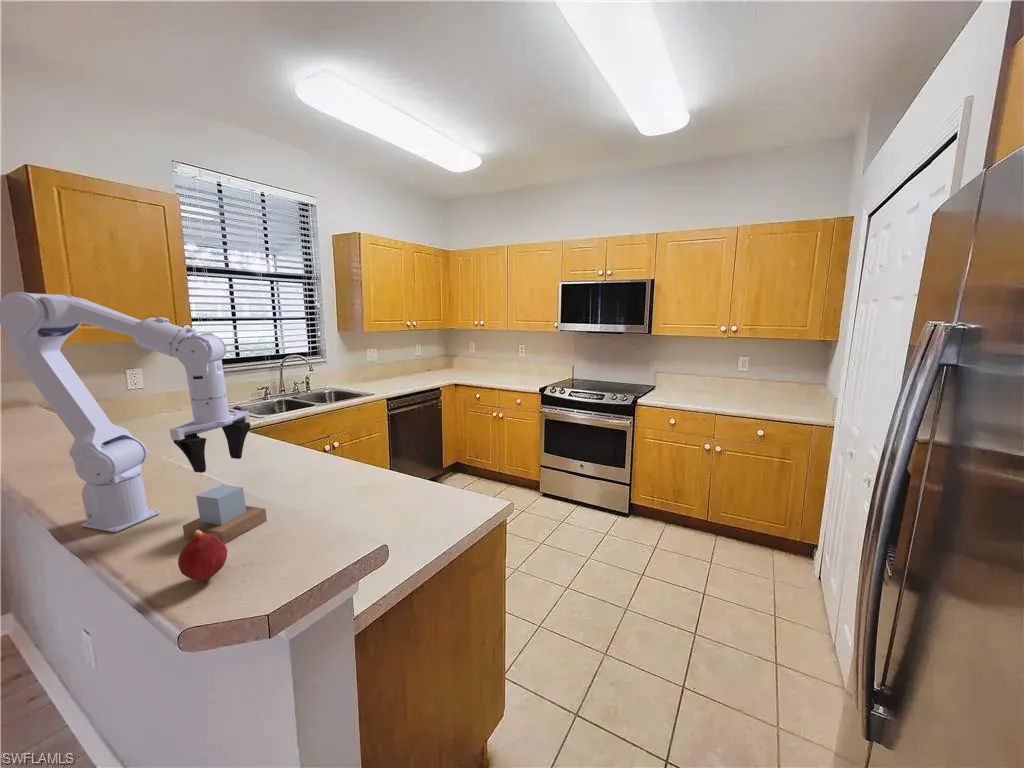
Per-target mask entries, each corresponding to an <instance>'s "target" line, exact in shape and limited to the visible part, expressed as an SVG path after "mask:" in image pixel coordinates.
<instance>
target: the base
mask: <svg viewBox="0 0 1024 768" xmlns="http://www.w3.org/2000/svg"><path fill="white" fill-rule="evenodd" d="M265 522H268V519H267V511H266V508H263V507H258V506H257V507H255V506H249V505H246V513H244V514H242V515H240V516H238V517H236V518H234V519H233V520H231V521H229V522H227V523H225V524H223V525H217V524H211V523H204V522H200V517H198V518H195V519H194V520H192V521H190V522H188V523H185V524H184V525H182V530H183V536H184V539H185V540H189V541H190V540H191V539H193V538H194V534H195V530H200V531H202V532H203V533H205V534H210V535H214V536H216V537H217V538H219V539H220V540H221V541H222V542H223V543H224V544H226V543H227V544H229V543H231V542H232V540H233V539H234V540H236V539H238V538H239V537H238V536H240V535H241V536H243V535H245V534H247V533H248V532H251V531H252V530H254V529H256V528H257V527H258V526H260V525H262V524H264V523H265ZM246 532H247V533H246ZM244 533H245V534H244ZM242 534H243V535H242ZM241 536H240V537H241ZM237 537H238V538H237ZM235 538H236V539H235ZM234 540H233V541H234ZM230 541H231V542H230ZM228 542H229V543H228ZM227 544H226V545H227Z"/></svg>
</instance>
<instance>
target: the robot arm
mask: <svg viewBox="0 0 1024 768" xmlns="http://www.w3.org/2000/svg"><path fill="white" fill-rule="evenodd" d="M169 321H170V319H169V318H166V317H162V316H157V317H156V318H155V317H148V318H146V319H142V320H141V319H139V318H135V317H133V316H130V315H128V314H125V313H123V312H120V311H117V310H114V309H112V308H109V307H107V306H104V305H101V304H99V303H96V302H93V301H91V300H88V299H86V298H81V297H75V296H72V295H71V294H66V293H56V294H50V293H34V292H33V293H31V292H30V293H29V292H24V291H13V292H9V293H7V294H5V295H4V296H2V298H1V299H0V326H1V327H2V329H3V330H4V331H5V335H6V339H7V343H8V347H9V351H10V353H11V355H12V356H13V358H15V360H16V361H17V363H18V364H19V366H21V369H23V371H24V372H25V373H26V375H27V376H28V377H29V379H30V380H31V381H32V383H33V384H34V386H35V387H36V388H37V389H38V391H39V392H40V393H41V395H42V396H43V398H44V399H45V401H47V403H48V405H50V407H51V408H52V410H53V411H54V412H55V414H56V415H57V416H58V418H59V419H60V421H61V422H62V423H63V425H64V426H65V427H66V429H67V430H68V431H69V433H70V434H71V435H72V437H73V438H74V442H73V443H72V446H70V450H69V452H68V454H69V456H70V457H71V458H72V460H73V463H74V469H75V472H76V474H77V476H78V477H79V478H80V479H81V480H82V481H84V482H86V483H85V484H84V486H83V487H82V489H81V499H82V504H83V508H84V513H85V517H86V521H85V522H83V523H81V524H80V525H81V527H83V528H89V529H93V530H99V531H104V532H111V533H117V532H119V531H122V530H125V529H127V528H129V527H132V526H134V525H136V524H138V523H141V522H144V521H146V520H148V519H150V518H153V517H155V516H157V515H159V514H161V510H157V509H150V508H149V506H148V501H147V500H148V499H147V496H146V490H145V483H144V480H143V479H144V477H143V472H142V470H143V465H142V464H143V463H145V461H146V459H147V458H148V449H147V447H146V444H144V442H142V441H141V440H140V439H138V438H136V437H134V436H133V435H132V433H131V432H130V431H129V429H127V428H125V427H122V426H119V425H117V424H113V423H112V421H111V420H110V419H109V417H108V416H107V415H106V413H105V411H103V409H102V407H101V406H100V404H99V403H98V402H97V400H96V399H95V398H94V396H93V395H92V393H91V392H90V391H89V389H88V388H87V387H86V385H85V384H84V382H83V381H82V380H81V378H80V377H79V376H78V374H77V373H76V371H75V370H74V368H73V367H72V366H71V364H70V363H69V361H68V360H67V359H66V357H65V356H64V355H63V353H62V352H61V348H62V346H63V345H64V342H65V341H66V340H67V339H68V338H69V337H70V336H71V335H72V334H73V333H74V332H75V331H76V330H77V329H78V328H79V327H80V326H81V325H82V324H86V325H90V326H94V327H97V328H100V329H102V330H108V331H111V332H114V333H117V334H122V335H126V336H128V337H132V338H133V339H134V341H135V343H136V344H137V346H139V347H141V348H145V349H148V350H150V351H153V352H157V353H158V354H159V353H160V354H162V355H166V356H169V357H171V358H176V359H177V360H178V361H179V362H180V363H181V364H182V365H183V366H184V369H185V373H186V379H187V385H188V386H187V387H188V391H189V398H190V405H191V410H192V411H191V412H192V417H193V421H190V422H187V423H185V424H182V425H180V426H177V427H174V428H173V427H172V428H171V429H169V433H170V434H169V435H170V440H173V444H175V445H176V447H177V448H179V449H180V451H182V453H183V454H184V456H185V457H186V459H188V461H189V463H190V465H191V467H192V469H193V472H194V473H199V474H200V473H202V474H203V473H205V472H206V470H207V463H206V456H205V455H206V454H205V450H206V443H207V438H206V437H200V435H199V434H202V433H206V432H209V431H213V430H217V429H219V428H222V431H223V433H224V435H225V439H226V442H227V446H228V451H229V452H228V453H229V456H230V459H236V460H240V459H242V456H243V449H244V446H245V445H244V444H245V440H246V438H247V435H248V432H249V431H250V429H251V423H250V422H248V421H250V419H251V418H250V411H249V410H239V411H235V412H230V411H229V410H230V409H229V403H228V402H229V401H228V394H227V388H226V387H227V386H226V382H225V374H224V367H223V358H224V357H225V355H226V353H227V347H226V344H225V342H224V340H222V339H221V338H220V337H218V336H217V335H215V334H213V333H212V332H205V333H200V334H198V333H197V329H195V328H193V327H187V328H185V327H182V326H179V325H177V324H173V323H171V322H169Z"/></svg>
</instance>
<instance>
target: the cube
mask: <svg viewBox="0 0 1024 768" xmlns="http://www.w3.org/2000/svg"><path fill="white" fill-rule="evenodd" d="M195 498H196V503H197V509H198V515H199V518H200V522H204V523H211V524H217V525H223V524H225V523H227V522H229V521H231V520H233V519H234V518H236V517H238V516H240V515H242V514H244V513H246V506H247V505H246V499H245V493H244V487H243V486H238V485H237V486H236V485H235V486H234V485H227V484H220V485H219V486H216V487H214V488H211V489H209V490H206V491H204V492H202V493H200V494H197V495H196V496H195Z"/></svg>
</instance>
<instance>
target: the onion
mask: <svg viewBox="0 0 1024 768" xmlns="http://www.w3.org/2000/svg"><path fill="white" fill-rule="evenodd" d="M227 558H228V548H227V546H226V545H225V544H224V543H223V542H222V541H221V540H220V539H219V538H217V537H216V536H214V535H210V534H205V533H203V532H202V531H200V530H195V534H194V538H193V539H191V540H189V541H188V542H187V543H186V544H185V545H184V546H183V548H182V549H181V552H180V554H179V555H178V558H177V566H178V568H179V571H180V573H181V574H182V575H183V576H185V577H186V578H189V579H191V580H193V581H200V582H207V581H209V580H211V579H212V578H213V577H215V575H217V573H219V572H220V570H221V569H222V568H223V567H224V566H225V563H226V561H227Z"/></svg>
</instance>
